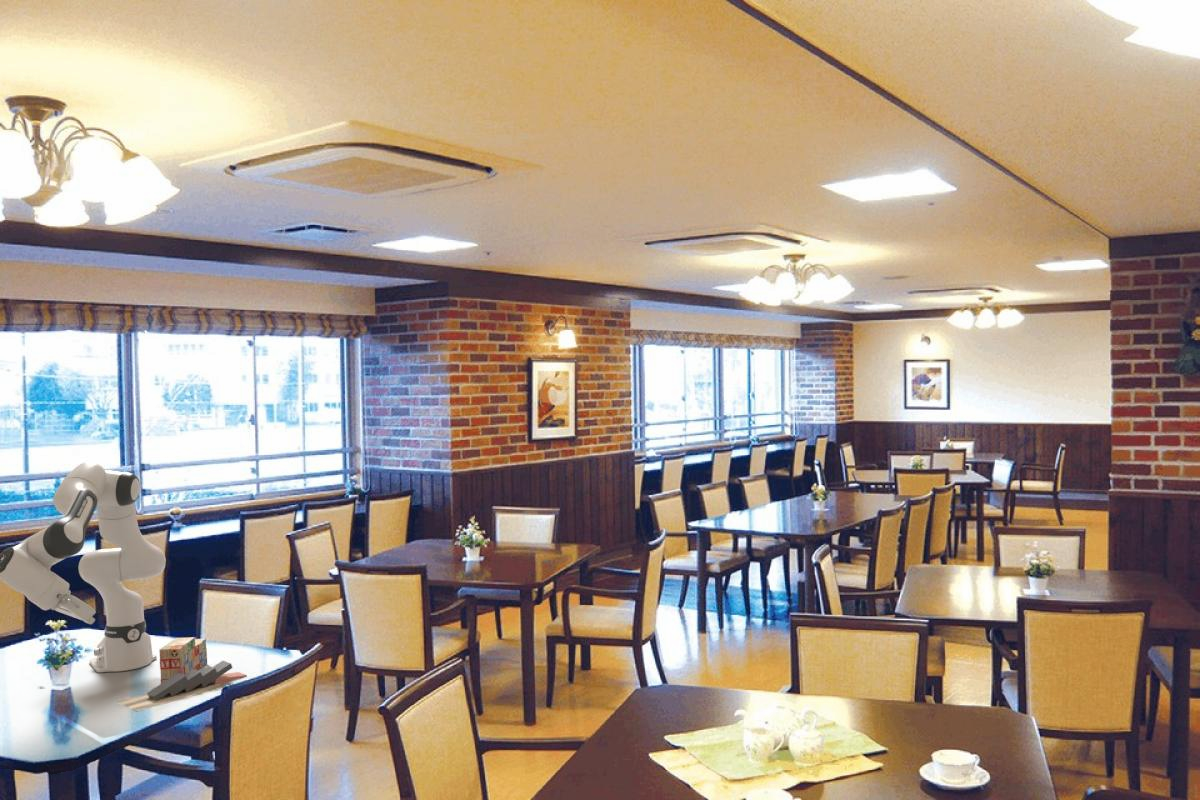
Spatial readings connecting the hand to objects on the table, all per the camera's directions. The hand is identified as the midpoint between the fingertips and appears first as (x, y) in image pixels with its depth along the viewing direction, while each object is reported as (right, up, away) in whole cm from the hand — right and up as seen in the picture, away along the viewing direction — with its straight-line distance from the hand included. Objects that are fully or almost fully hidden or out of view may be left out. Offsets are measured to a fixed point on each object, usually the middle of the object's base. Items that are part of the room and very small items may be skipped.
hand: (91, 621), depth 266 cm
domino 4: (+20, -24, +23) cm, 39 cm away
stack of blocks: (+10, -26, +37) cm, 46 cm away
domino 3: (+17, -24, +19) cm, 35 cm away
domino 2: (+14, -24, +16) cm, 32 cm away
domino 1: (+11, -25, +12) cm, 30 cm away
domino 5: (+23, -24, +26) cm, 42 cm away
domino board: (+15, -26, +17) cm, 35 cm away
